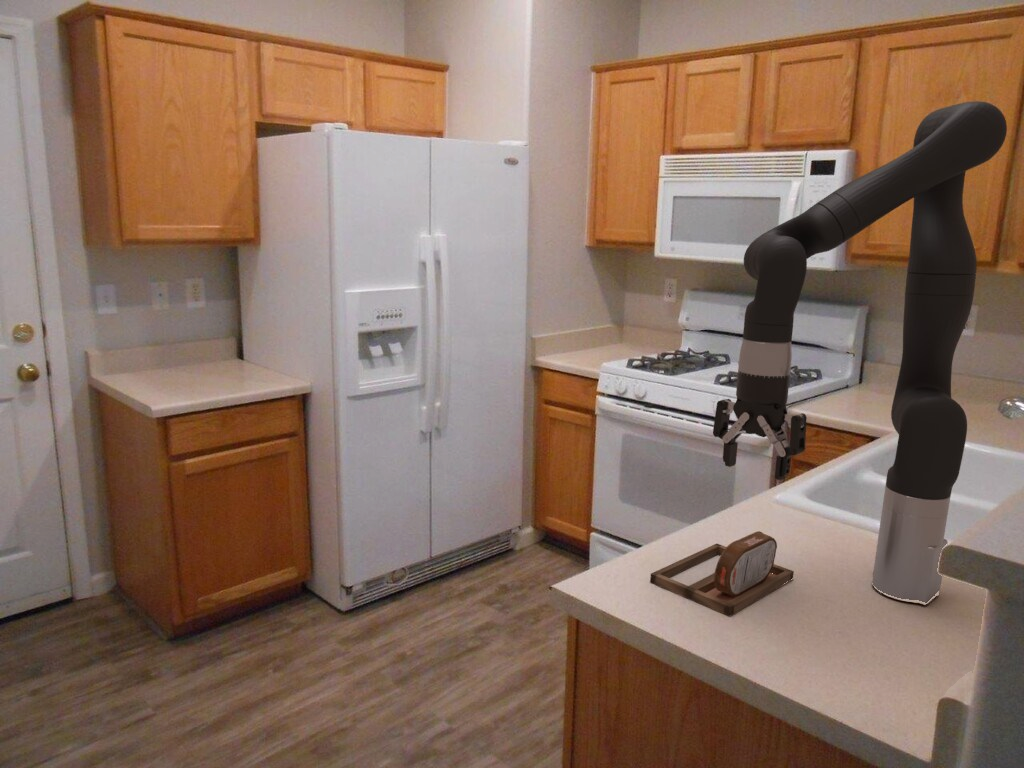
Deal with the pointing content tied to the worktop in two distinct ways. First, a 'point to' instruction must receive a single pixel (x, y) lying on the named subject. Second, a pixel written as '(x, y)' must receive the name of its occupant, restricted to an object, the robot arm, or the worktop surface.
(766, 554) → the tin
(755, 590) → the rack
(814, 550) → the worktop surface
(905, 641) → the worktop surface
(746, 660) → the worktop surface
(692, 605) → the worktop surface
